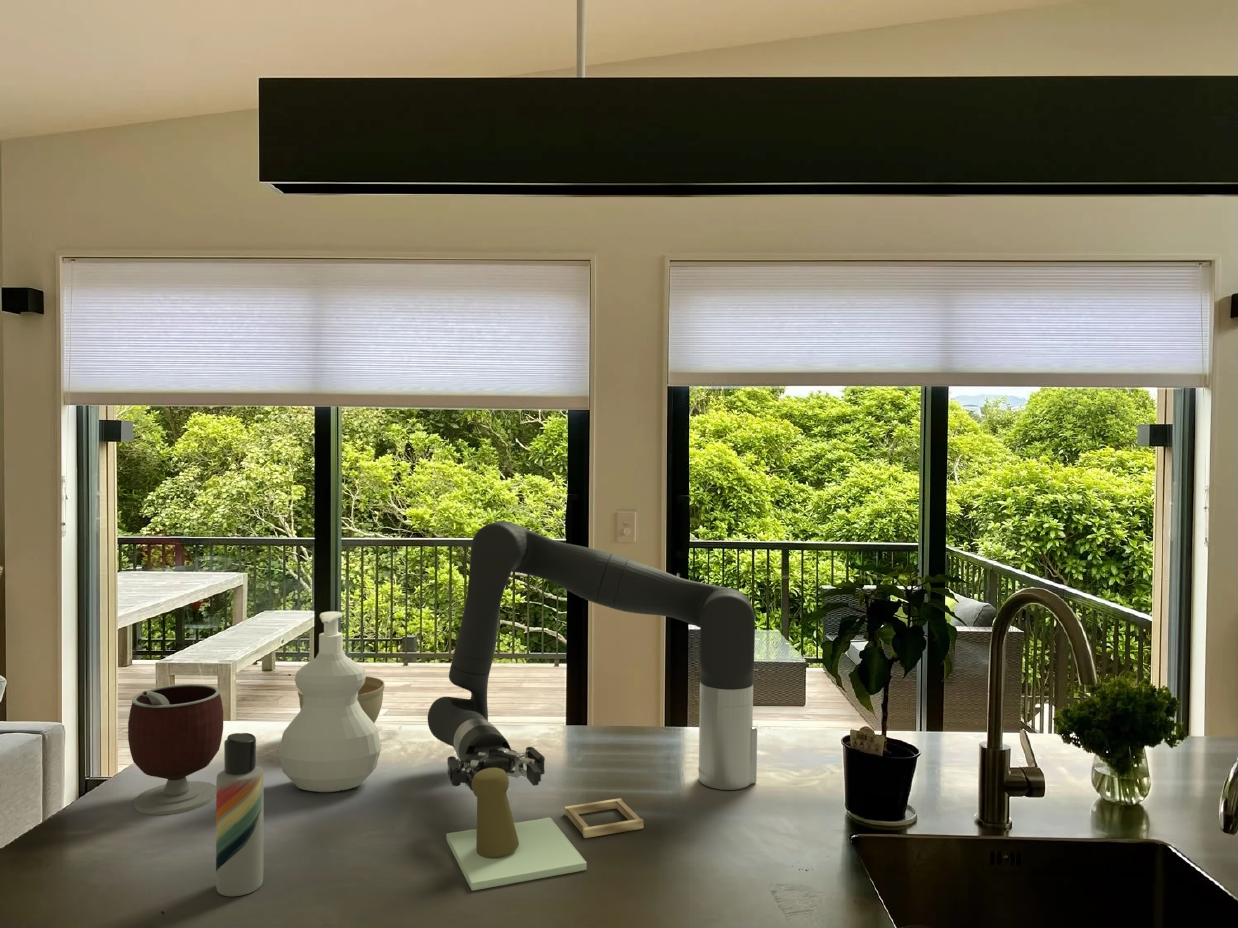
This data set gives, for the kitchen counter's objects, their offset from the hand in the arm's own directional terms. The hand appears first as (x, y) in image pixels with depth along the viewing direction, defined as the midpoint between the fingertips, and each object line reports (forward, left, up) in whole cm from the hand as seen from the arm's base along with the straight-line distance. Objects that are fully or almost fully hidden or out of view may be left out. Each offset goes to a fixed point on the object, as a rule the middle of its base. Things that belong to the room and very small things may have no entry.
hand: (508, 782), depth 131 cm
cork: (+2, +3, -8) cm, 9 cm away
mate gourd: (+46, -35, -9) cm, 58 cm away
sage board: (0, +3, -9) cm, 10 cm away
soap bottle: (+22, -33, -9) cm, 40 cm away
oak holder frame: (-16, -3, -9) cm, 19 cm away
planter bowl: (+18, -56, -9) cm, 59 cm away
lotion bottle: (+36, -1, -9) cm, 37 cm away
